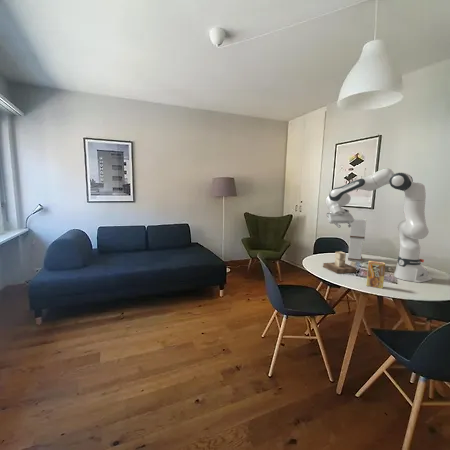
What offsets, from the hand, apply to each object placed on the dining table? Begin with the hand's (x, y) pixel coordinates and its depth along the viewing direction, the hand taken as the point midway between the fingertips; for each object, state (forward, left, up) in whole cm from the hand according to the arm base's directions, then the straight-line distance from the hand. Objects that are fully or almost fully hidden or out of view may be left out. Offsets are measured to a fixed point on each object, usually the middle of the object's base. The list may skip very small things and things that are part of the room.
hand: (344, 227), depth 192 cm
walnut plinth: (+5, +3, -31) cm, 32 cm away
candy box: (+6, +37, -32) cm, 49 cm away
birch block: (+5, +3, -28) cm, 29 cm away
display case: (-27, -18, -32) cm, 45 cm away
